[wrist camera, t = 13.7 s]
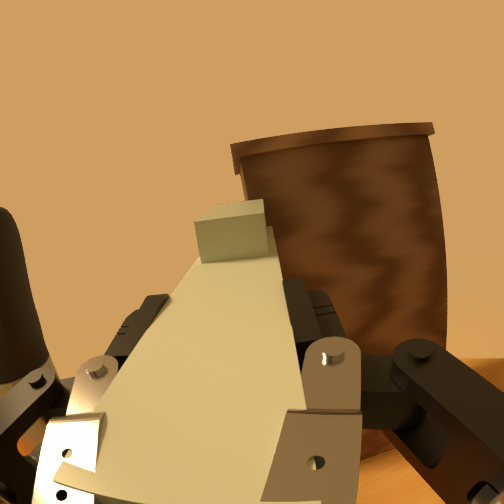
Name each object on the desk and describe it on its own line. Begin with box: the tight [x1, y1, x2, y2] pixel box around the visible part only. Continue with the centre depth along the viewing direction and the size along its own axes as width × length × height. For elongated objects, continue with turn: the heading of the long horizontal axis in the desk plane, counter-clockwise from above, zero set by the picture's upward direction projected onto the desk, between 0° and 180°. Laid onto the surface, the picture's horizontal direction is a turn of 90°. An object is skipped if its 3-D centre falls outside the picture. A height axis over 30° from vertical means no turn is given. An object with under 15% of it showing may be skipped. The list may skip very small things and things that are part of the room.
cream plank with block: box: [51, 199, 321, 504], centre depth 13 cm, size 4×20×4 cm, turn 177°
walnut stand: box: [230, 122, 447, 460], centre depth 29 cm, size 17×11×32 cm, turn 92°
